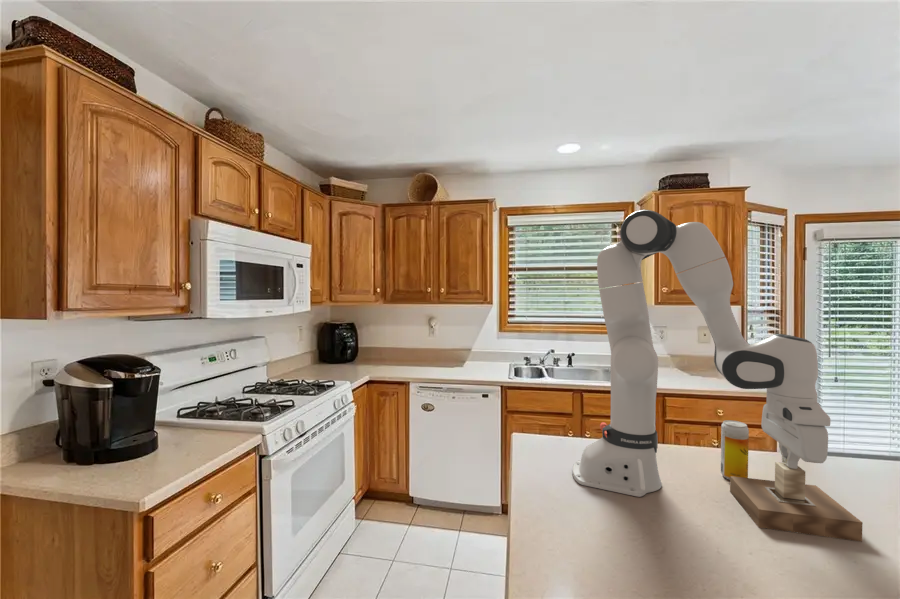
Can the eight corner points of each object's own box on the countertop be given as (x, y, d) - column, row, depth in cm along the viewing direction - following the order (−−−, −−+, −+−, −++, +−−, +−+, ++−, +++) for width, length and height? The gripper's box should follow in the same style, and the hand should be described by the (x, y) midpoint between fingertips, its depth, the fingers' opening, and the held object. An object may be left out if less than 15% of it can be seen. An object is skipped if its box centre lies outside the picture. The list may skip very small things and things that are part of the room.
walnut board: (758, 527, 87) (759, 508, 87) (729, 491, 103) (730, 475, 103) (862, 541, 82) (862, 521, 82) (815, 501, 98) (815, 484, 98)
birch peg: (782, 517, 91) (783, 469, 91) (774, 508, 95) (775, 461, 95) (804, 520, 90) (805, 471, 90) (794, 510, 94) (795, 464, 94)
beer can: (752, 484, 107) (753, 427, 106) (726, 481, 108) (727, 426, 107) (740, 473, 113) (741, 420, 112) (716, 471, 114) (717, 419, 113)
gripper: (754, 393, 103) (753, 447, 103) (798, 418, 83) (797, 484, 83) (783, 395, 101) (782, 449, 101) (836, 421, 81) (834, 488, 82)
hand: (789, 465), depth 92 cm, fingers closed
